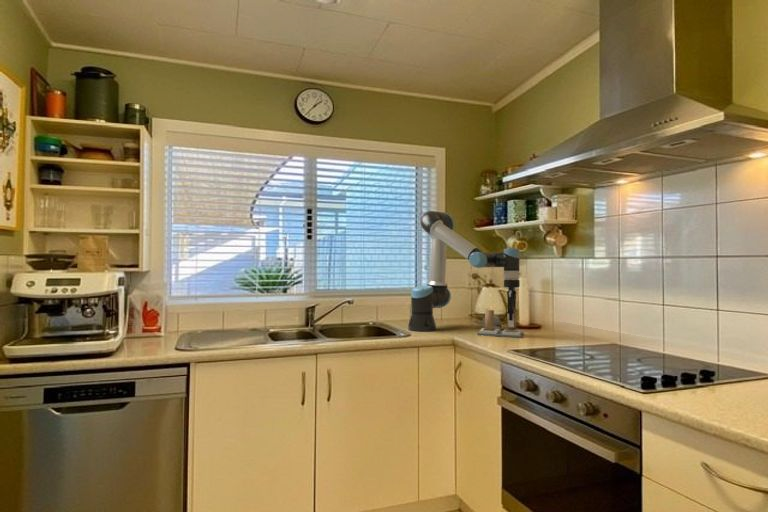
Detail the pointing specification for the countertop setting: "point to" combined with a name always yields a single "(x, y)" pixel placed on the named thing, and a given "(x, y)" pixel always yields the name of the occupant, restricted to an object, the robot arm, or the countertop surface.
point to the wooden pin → (514, 321)
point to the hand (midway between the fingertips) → (511, 326)
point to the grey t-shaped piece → (491, 331)
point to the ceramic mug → (496, 323)
